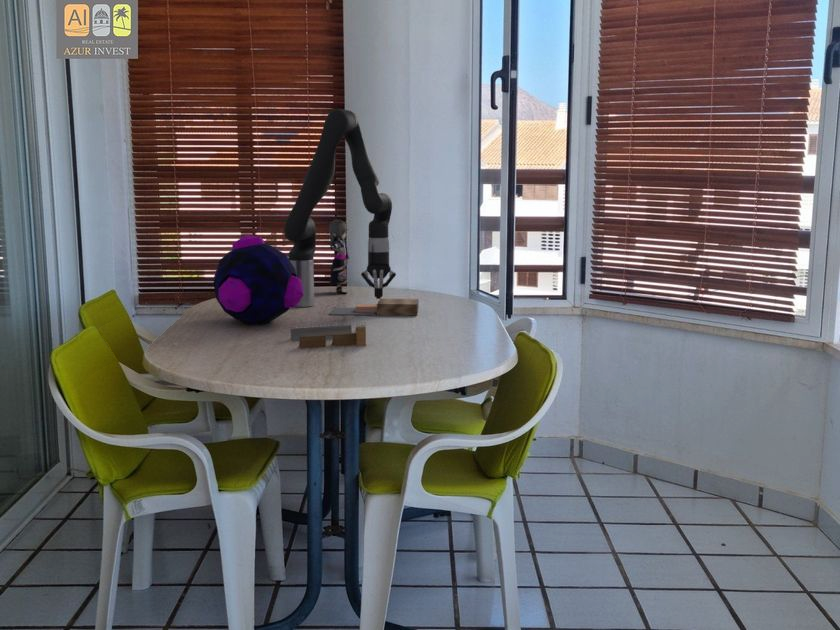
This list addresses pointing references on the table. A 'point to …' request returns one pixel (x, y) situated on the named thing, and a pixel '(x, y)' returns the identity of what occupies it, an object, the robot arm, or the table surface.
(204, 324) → the table surface
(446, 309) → the table surface
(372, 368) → the table surface
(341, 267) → the figurine
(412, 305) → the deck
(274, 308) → the sculpture
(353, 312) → the mat
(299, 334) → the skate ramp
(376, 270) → the robot arm
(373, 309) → the salmon pink rectangular block
